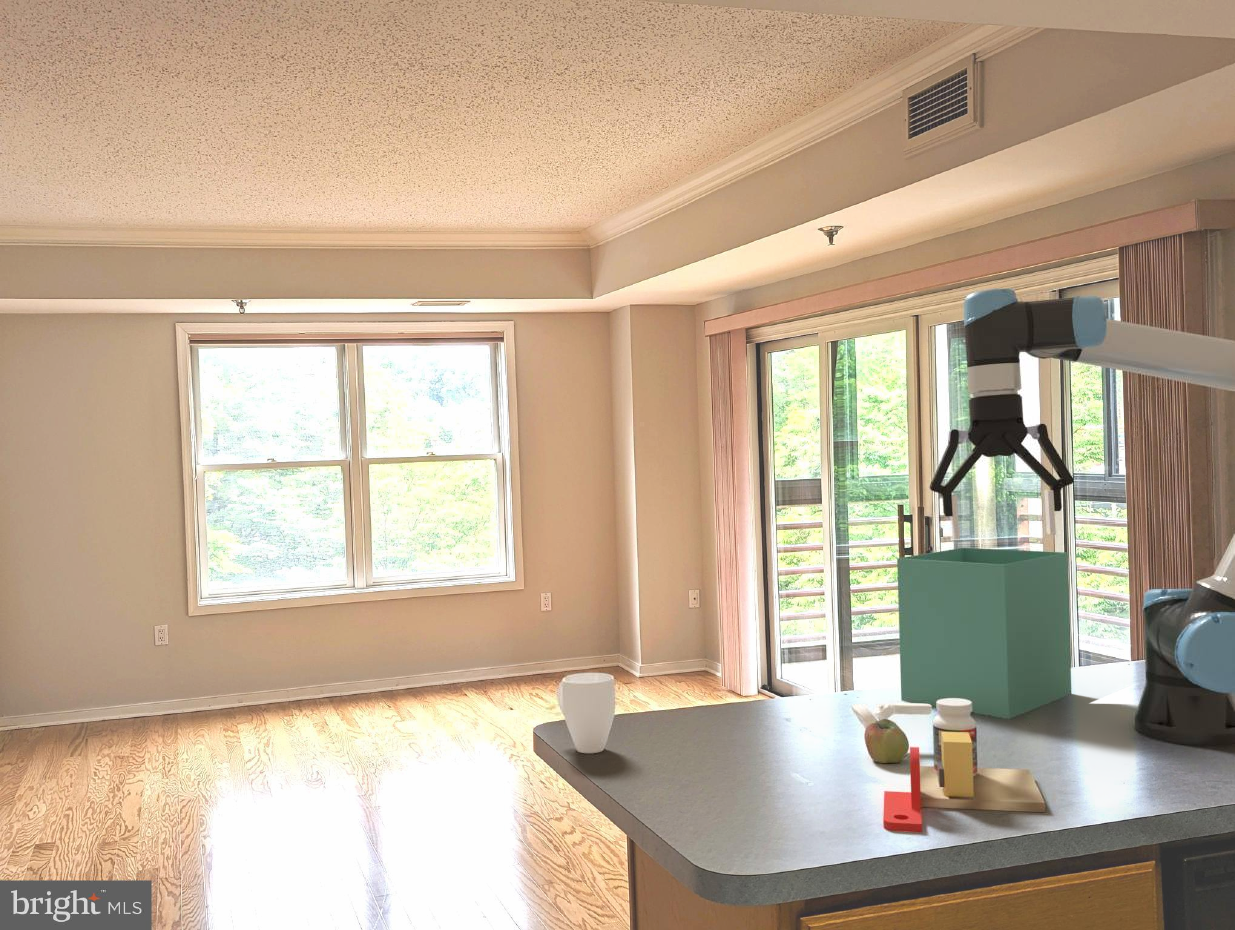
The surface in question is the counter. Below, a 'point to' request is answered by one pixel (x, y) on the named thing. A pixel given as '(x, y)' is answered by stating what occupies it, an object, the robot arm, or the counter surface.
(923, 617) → the box
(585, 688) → the mug
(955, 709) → the pill bottle
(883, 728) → the apple
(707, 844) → the counter surface
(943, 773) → the block
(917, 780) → the bracket
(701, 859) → the counter surface
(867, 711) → the hook
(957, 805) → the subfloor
